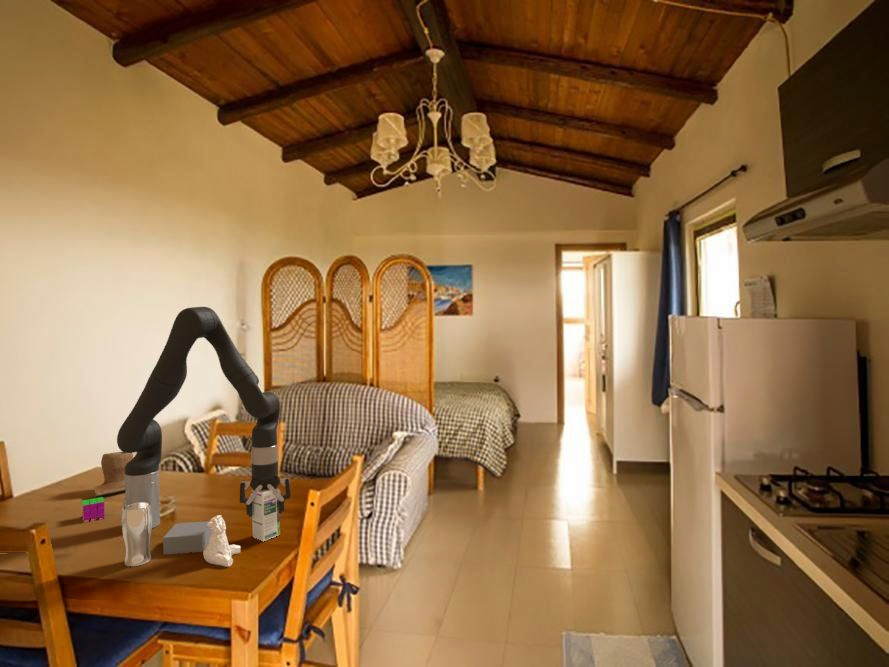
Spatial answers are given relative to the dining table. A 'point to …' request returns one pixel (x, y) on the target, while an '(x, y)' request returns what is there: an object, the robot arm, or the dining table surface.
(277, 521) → the syrup box
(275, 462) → the robot arm
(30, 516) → the dining table surface
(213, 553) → the white creature statuette
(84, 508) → the puzzle toy
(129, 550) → the beer glass
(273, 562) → the dining table surface
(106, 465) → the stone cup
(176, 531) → the grey block
